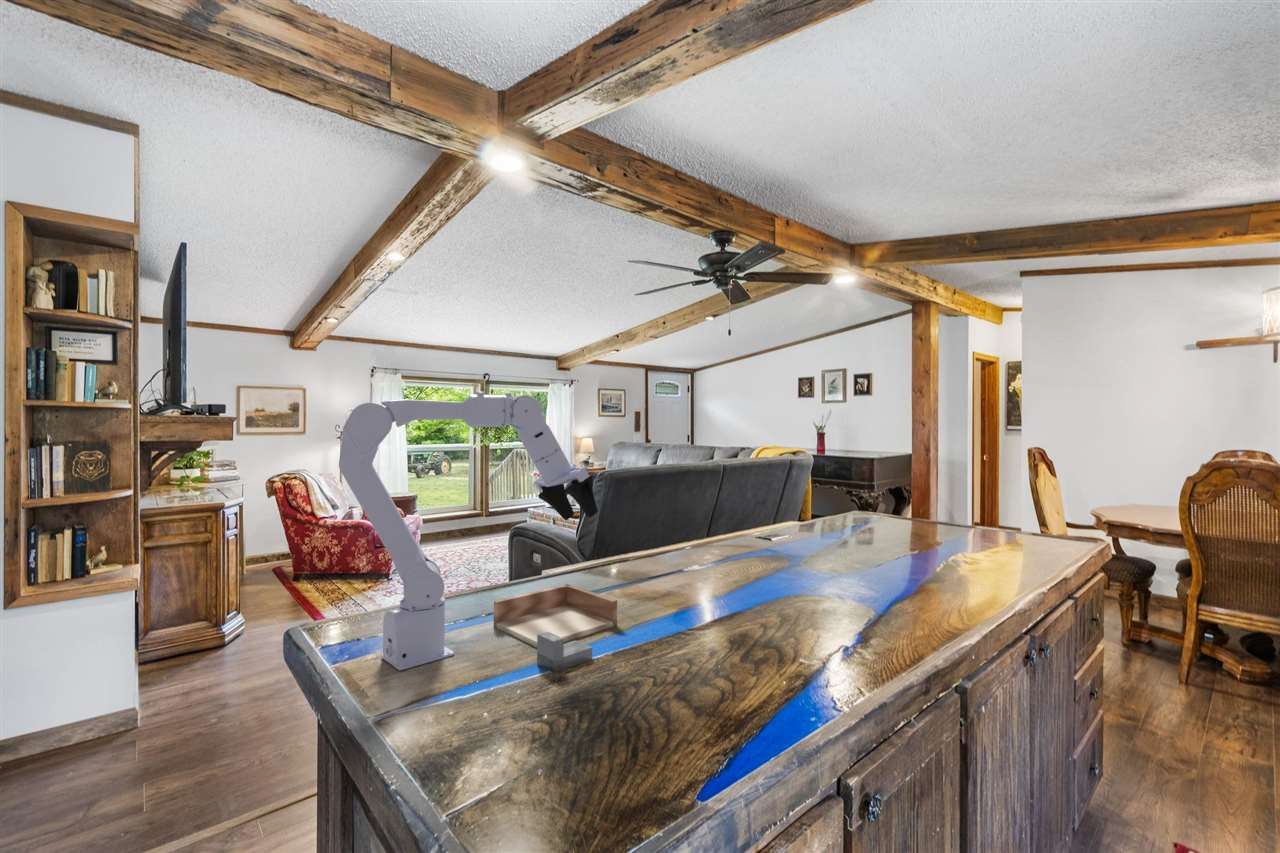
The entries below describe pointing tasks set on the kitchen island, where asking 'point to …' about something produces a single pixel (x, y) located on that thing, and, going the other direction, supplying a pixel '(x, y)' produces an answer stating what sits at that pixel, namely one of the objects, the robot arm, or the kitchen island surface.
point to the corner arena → (555, 613)
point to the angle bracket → (560, 652)
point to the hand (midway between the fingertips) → (581, 516)
